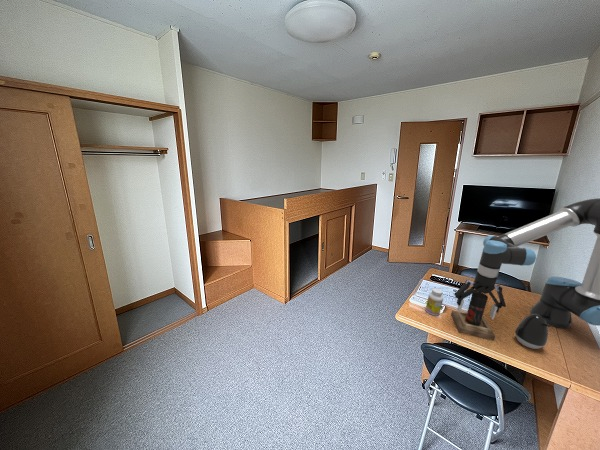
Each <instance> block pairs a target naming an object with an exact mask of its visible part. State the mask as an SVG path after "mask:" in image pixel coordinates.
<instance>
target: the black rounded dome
mask: <svg viewBox="0 0 600 450" xmlns="http://www.w3.org/2000/svg"><path fill="white" fill-rule="evenodd" d="M549 327H551V325H549V324H547V323H546V320H545V319H544V318H543V317H542V316H541V315H538V314H531V313H530V314H528V315H527V316H525V317H524V318H523V319H522V320H521V321H520V322H519V324H518V325H517V326H516V328H515V331H514V332H515V337H516V339H517V341H518V342H519V343H520V344H521V345H523V346H525V347H527V348H528V349H529V348H530V349H533V350H539V349H542V348H544V347H545V346H546V345H547V343H548V337H549V329H548V328H549Z"/></svg>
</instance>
